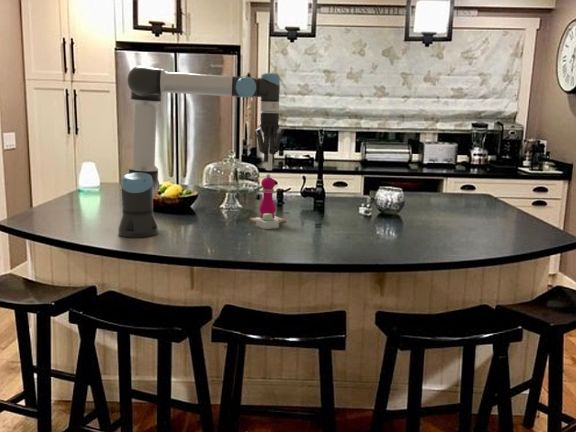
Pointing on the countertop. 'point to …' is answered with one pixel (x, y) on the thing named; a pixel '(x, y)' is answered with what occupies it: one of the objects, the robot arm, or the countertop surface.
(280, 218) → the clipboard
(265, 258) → the countertop surface
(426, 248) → the countertop surface
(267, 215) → the button
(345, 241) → the countertop surface
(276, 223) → the button base
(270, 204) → the pepper mill
